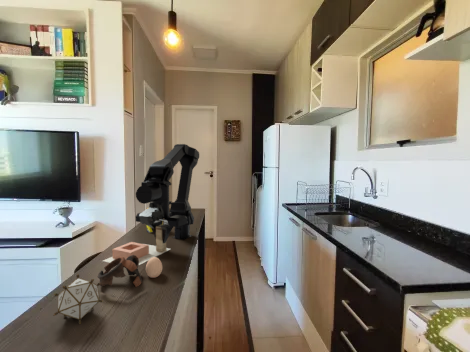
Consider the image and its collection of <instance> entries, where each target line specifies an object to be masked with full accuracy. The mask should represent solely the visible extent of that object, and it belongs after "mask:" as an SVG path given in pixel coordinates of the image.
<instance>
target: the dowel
mask: <svg viewBox="0 0 470 352" xmlns="http://www.w3.org/2000/svg"><path fill="white" fill-rule="evenodd" d="M160 226H161V225H158V226H156V239H155V246H156V251H157V252H164V251H166V248H167V242H166V243H163V238H162V228H161V227H160ZM166 252H167V251H166ZM164 253H165V252H164Z"/></svg>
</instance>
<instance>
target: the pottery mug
mask: <svg viewBox="0 0 470 352" xmlns="http://www.w3.org/2000/svg"><path fill="white" fill-rule="evenodd" d="M139 266H140V265H139V259H138V257H137V256H135V255H131V256H129V257H128V258H127V259H126V260H125V258H124V257H119V258H117V259H115V260H113V261H112V262H110V263H107V264H106V265H105V266H104V268H103V269H104V270H105V271H103V270H100V271H99V273H98V274H97V275H96V276H97V278H98V279H99V283H100V285H99V286H100V287H103V286H104V287H105V286H106V285H109V286H113V279H114V278H120V279H121V278H125V277H126V274H125V270H126V271H127V274H128V276H135V275H136V277H135V278H134V281H132V284H133V285H134V287H135V288H138V287H139V286H140V285H141V284H142V282H143V279H142V276H141V274H140V271H139ZM124 268H125V269H124Z"/></svg>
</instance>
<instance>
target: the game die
mask: <svg viewBox="0 0 470 352" xmlns="http://www.w3.org/2000/svg"><path fill="white" fill-rule="evenodd" d="M94 281H95V279H94V278H93V279H91V280H88V279H87V280H86V279H84V278H80V274H78V273H77V275H76V278H75V279H74V280H73V281H72V282H71V283H69V284H68V285H67V286H66V285H62V289H63V290H62V291H60V292H59V293H54V294H53V296H54V297H57V311H55V312H54V313H53V315H52V316H54V317H55V316H57V315H58V314H60V315H63V317H64V318H66V317H67V316H68V317H70V318H72V319H76V320H78V324H79V325H81V324H82V318H84V317H85V316H86V315H87V314H88V313H89V312H90V311H91V310H92V309H94V307H95V306H96V305H97V304H98V303H103V302H104V300H103V299H100V293H99V288H98V287H99V286H100V282H98V283H94Z"/></svg>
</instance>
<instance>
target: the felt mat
mask: <svg viewBox="0 0 470 352" xmlns="http://www.w3.org/2000/svg"><path fill="white" fill-rule="evenodd" d="M145 244H146V243H145ZM146 245H149V254H147V255H145V256H143V257H141V258H138V259H139V266H140V265H142V264H144V263H146V262H148V261H149V260H150V259H151V258H153V257H158V256H160V255H162V254H164V253H167V252H168V251H170V250H171V248H168V247H166V251H164V252H157V251H156V245H153V244H152V245H151V244H146ZM113 260H115V258H113V256H110V257H108V258H106V259H104V260H102V262H105V263H107V264H109V263H110V262H112V261H113Z"/></svg>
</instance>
